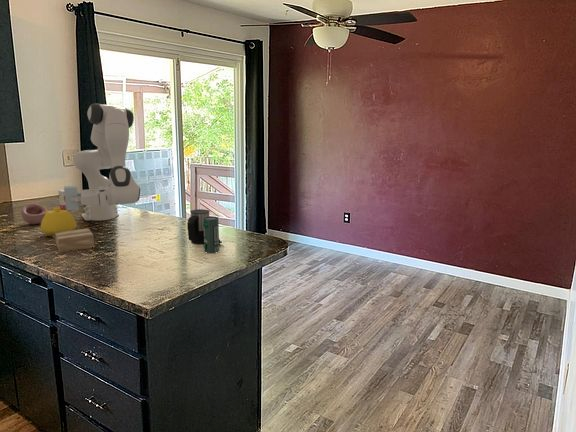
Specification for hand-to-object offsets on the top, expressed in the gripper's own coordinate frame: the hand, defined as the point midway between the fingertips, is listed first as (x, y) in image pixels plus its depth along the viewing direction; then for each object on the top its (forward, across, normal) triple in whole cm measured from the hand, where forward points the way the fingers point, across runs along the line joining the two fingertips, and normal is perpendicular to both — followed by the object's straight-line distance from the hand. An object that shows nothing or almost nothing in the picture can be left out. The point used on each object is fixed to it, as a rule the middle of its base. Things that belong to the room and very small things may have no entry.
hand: (69, 197), depth 192 cm
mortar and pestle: (+20, -52, +22) cm, 60 cm away
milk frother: (-56, +19, +22) cm, 63 cm away
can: (-55, +32, +22) cm, 68 cm away
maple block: (0, +1, +22) cm, 22 cm away
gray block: (-1, 0, +5) cm, 5 cm away
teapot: (+8, -24, +22) cm, 34 cm away
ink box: (+6, -90, +22) cm, 93 cm away
